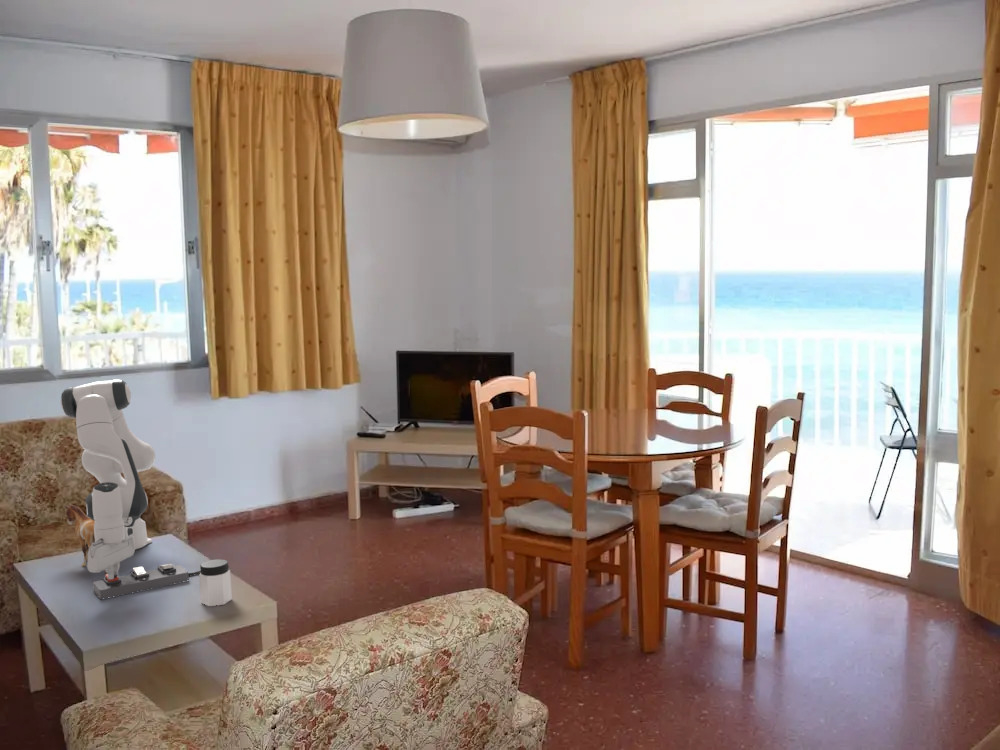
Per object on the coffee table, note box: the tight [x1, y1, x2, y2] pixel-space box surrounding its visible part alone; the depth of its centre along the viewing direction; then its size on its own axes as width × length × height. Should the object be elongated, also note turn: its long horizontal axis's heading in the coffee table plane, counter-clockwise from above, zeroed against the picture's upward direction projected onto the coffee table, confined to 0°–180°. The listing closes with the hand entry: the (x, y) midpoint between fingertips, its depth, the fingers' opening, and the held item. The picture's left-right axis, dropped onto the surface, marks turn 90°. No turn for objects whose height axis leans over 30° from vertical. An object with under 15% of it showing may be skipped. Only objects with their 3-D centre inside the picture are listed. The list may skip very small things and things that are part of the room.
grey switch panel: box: [92, 564, 201, 600], centre depth 299 cm, size 10×34×4 cm, turn 125°
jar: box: [198, 558, 233, 607], centre depth 281 cm, size 9×8×12 cm
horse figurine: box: [64, 504, 107, 574], centre depth 316 cm, size 31×8×21 cm, turn 39°
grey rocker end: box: [159, 563, 174, 570], centre depth 303 cm, size 5×3×2 cm, turn 35°
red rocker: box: [104, 573, 119, 582], centre depth 293 cm, size 5×3×2 cm, turn 35°
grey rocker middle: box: [132, 566, 146, 576], centre depth 298 cm, size 5×3×2 cm, turn 35°
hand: (113, 578), depth 291 cm, fingers closed
